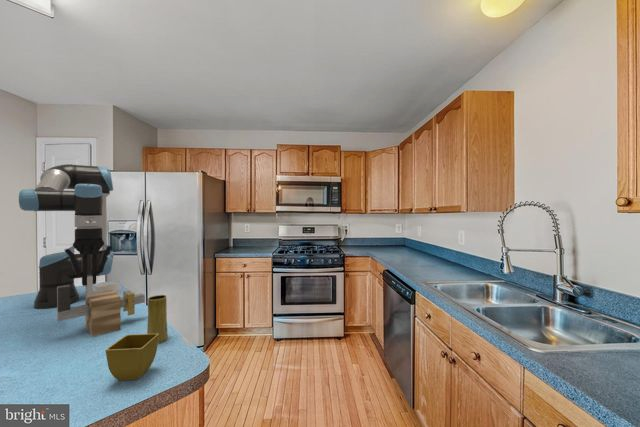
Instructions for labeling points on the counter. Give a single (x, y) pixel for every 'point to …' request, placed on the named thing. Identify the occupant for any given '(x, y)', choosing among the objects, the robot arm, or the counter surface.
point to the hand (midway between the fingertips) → (89, 293)
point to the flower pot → (132, 356)
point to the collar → (129, 302)
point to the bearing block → (103, 312)
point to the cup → (108, 287)
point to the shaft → (78, 311)
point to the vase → (157, 317)
